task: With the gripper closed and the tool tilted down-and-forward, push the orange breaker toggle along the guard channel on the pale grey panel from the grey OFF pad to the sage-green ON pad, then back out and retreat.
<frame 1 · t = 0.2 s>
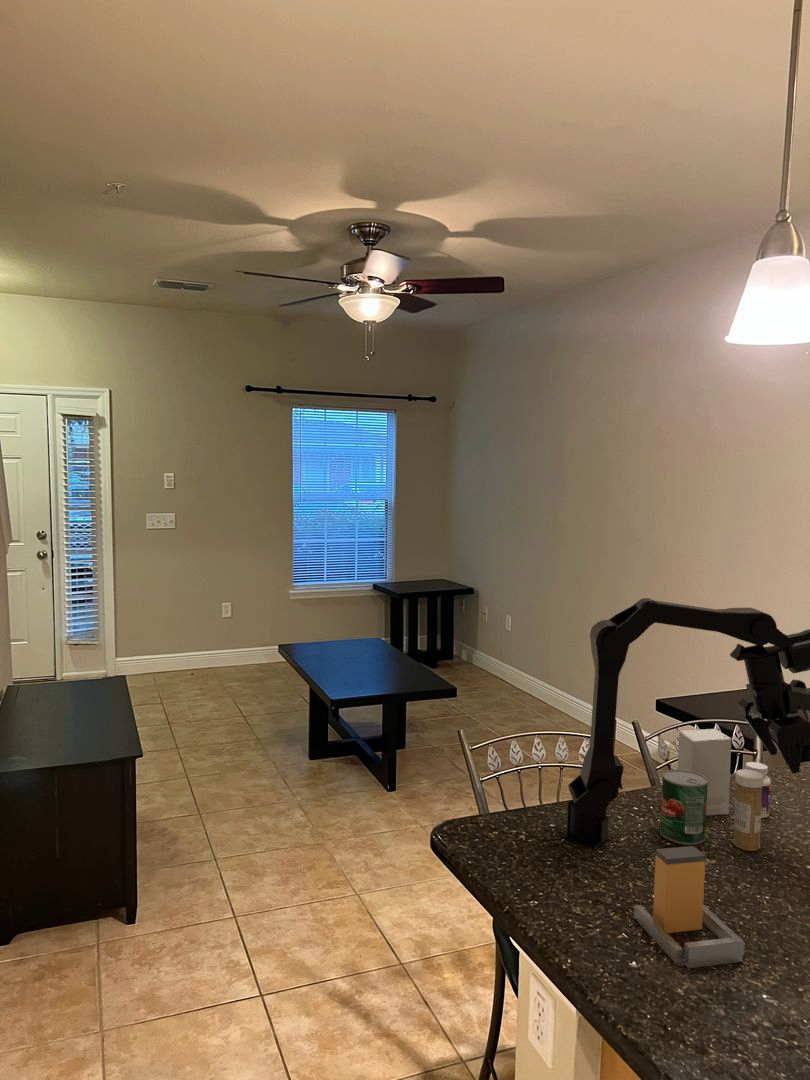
hand: (784, 763, 135), 15 cm above the countertop, tool pointing down, fingers open, 9 cm apart
pill bottle: (754, 814, 151), on the countertop
canned tomato: (682, 836, 141), on the countertop
skincare box: (702, 810, 153), on the countertop
toggle: (678, 889, 109), point 6 cm above the countertop, slide at 0.0 cm
sprinkles bottle: (746, 847, 137), on the countertop
panel: (680, 936, 109), on the countertop
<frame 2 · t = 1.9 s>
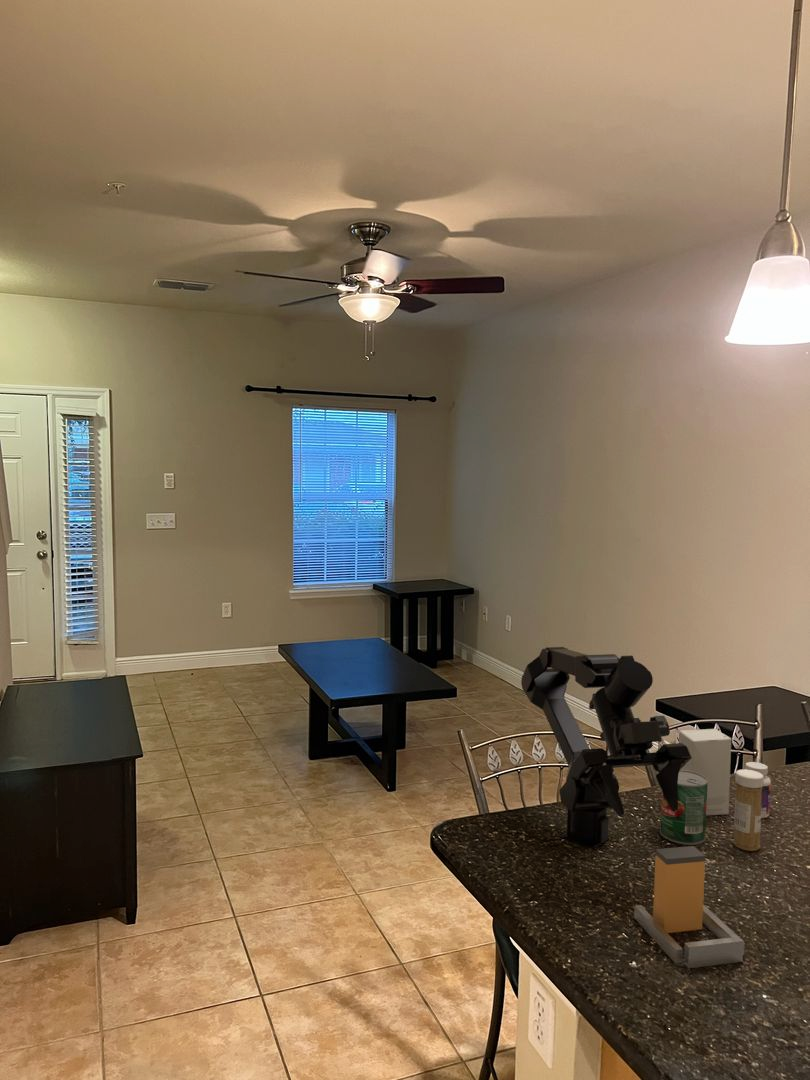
hand: (649, 813, 118), 13 cm above the countertop, tool tilted 45°, fingers open, 9 cm apart
nothing on the countertop moved.
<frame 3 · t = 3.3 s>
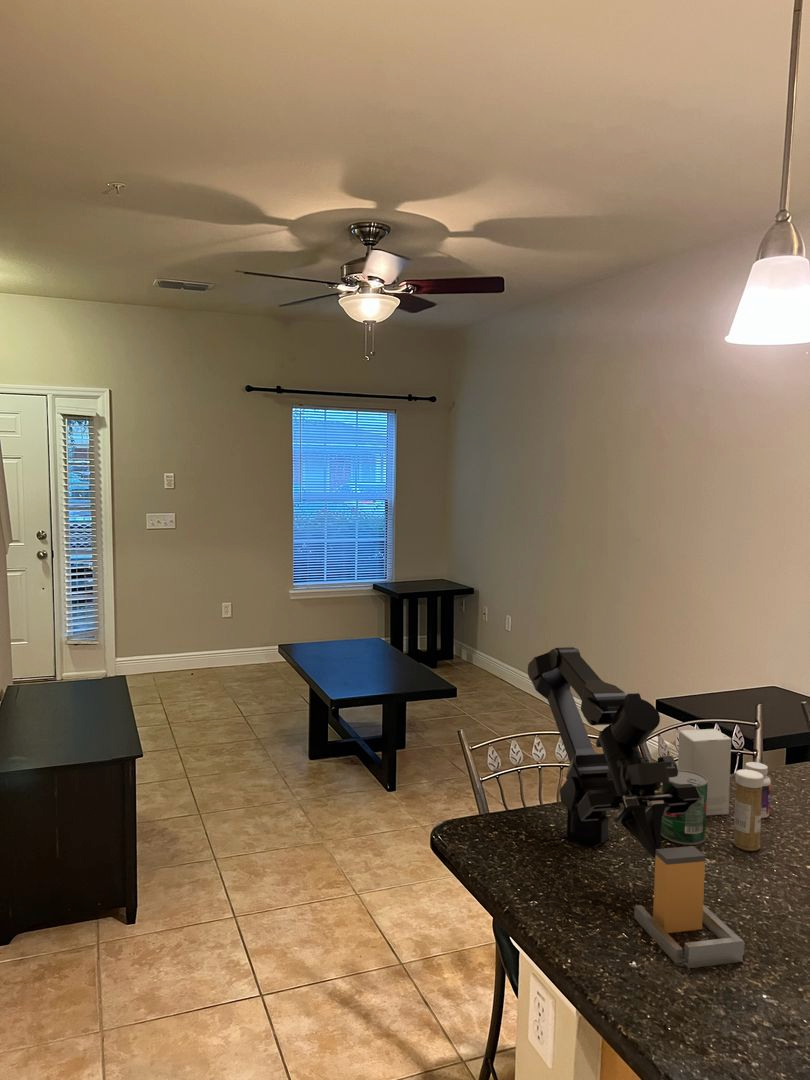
hand: (657, 857, 115), 8 cm above the countertop, tool tilted 45°, fingers closed
nothing on the countertop moved.
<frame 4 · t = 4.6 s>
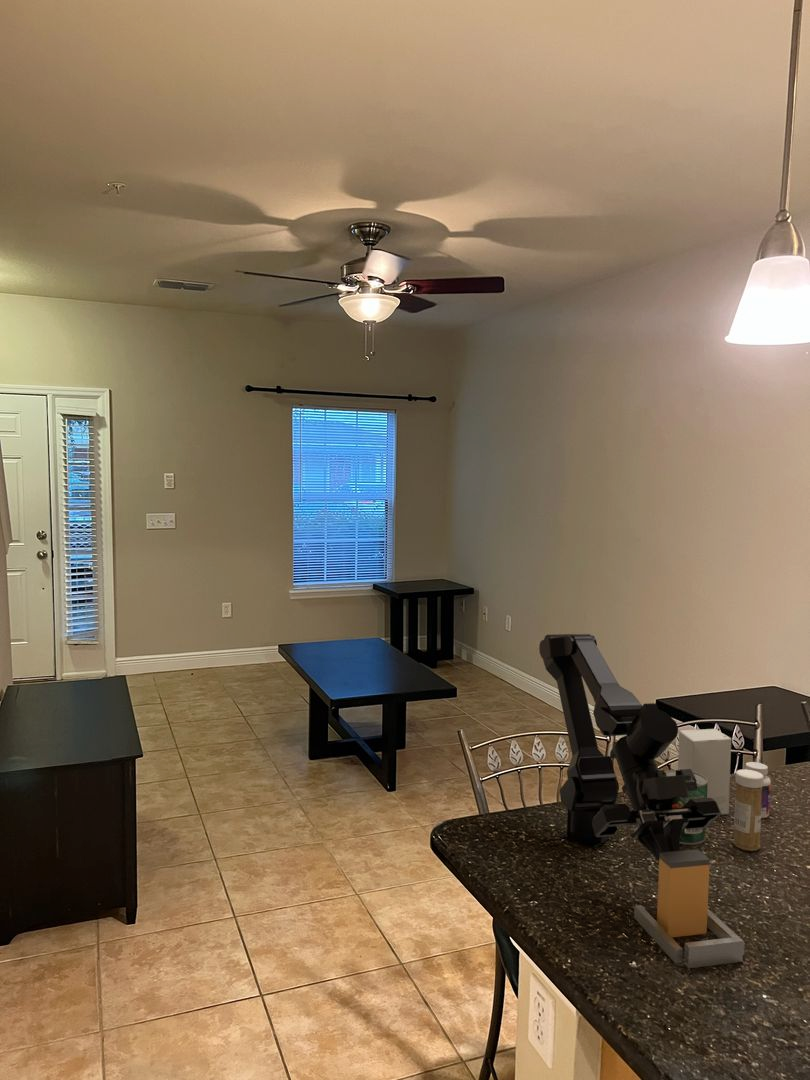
hand: (676, 875, 110), 8 cm above the countertop, tool tilted 45°, fingers closed, pressing on toggle
toggle: (682, 892, 108), point 6 cm above the countertop, slide at 1.1 cm, touching gripper
everything else where it was.
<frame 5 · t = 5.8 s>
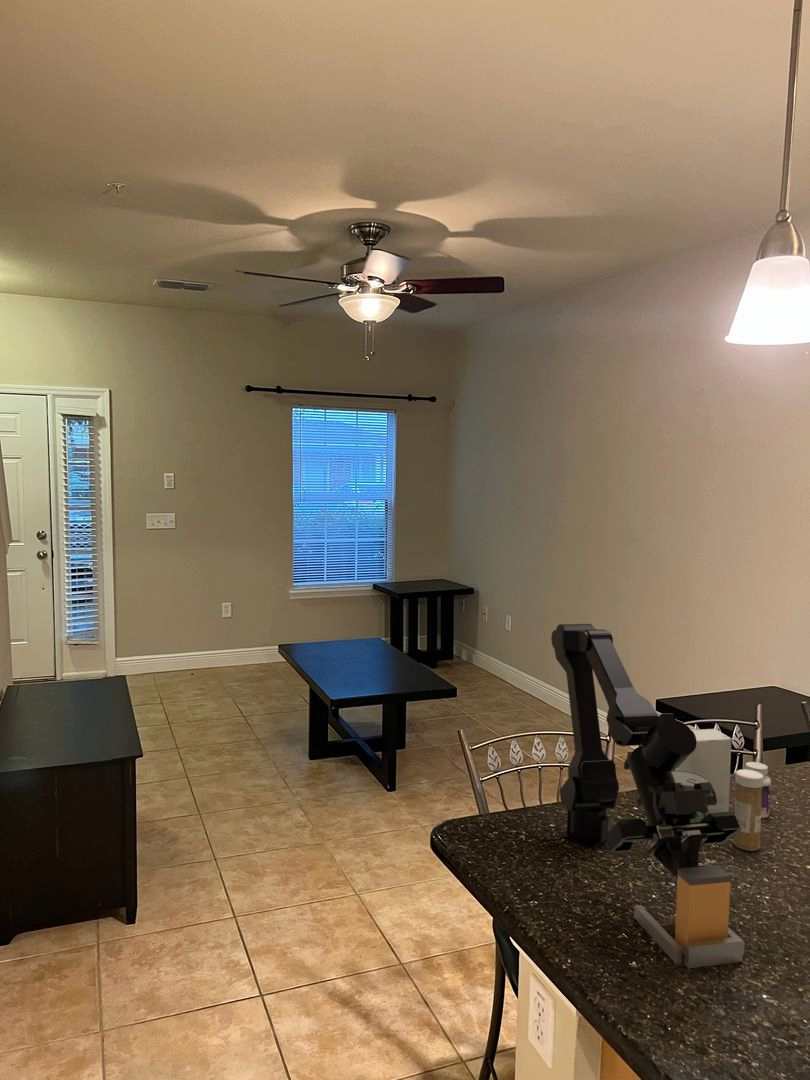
hand: (695, 893, 105), 8 cm above the countertop, tool tilted 45°, fingers closed
toggle: (702, 910, 104), point 6 cm above the countertop, slide at 5.8 cm
everything else where it was.
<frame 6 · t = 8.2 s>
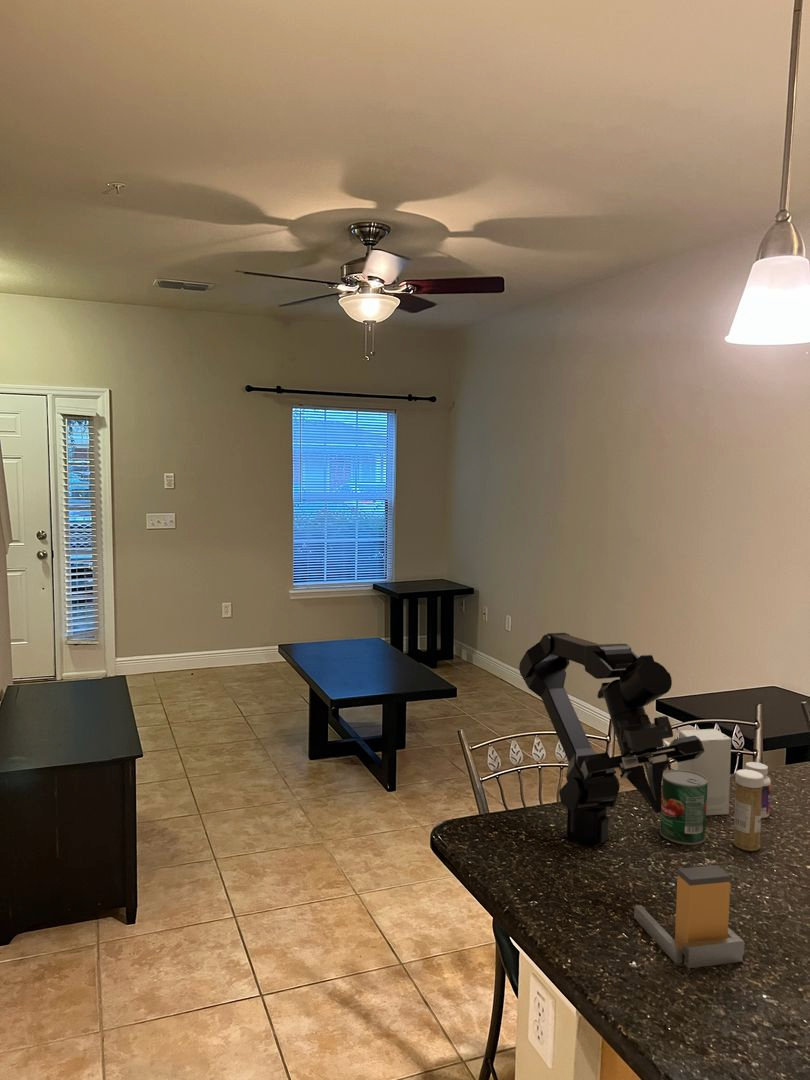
hand: (658, 812, 119), 13 cm above the countertop, tool tilted 35°, fingers closed
nothing on the countertop moved.
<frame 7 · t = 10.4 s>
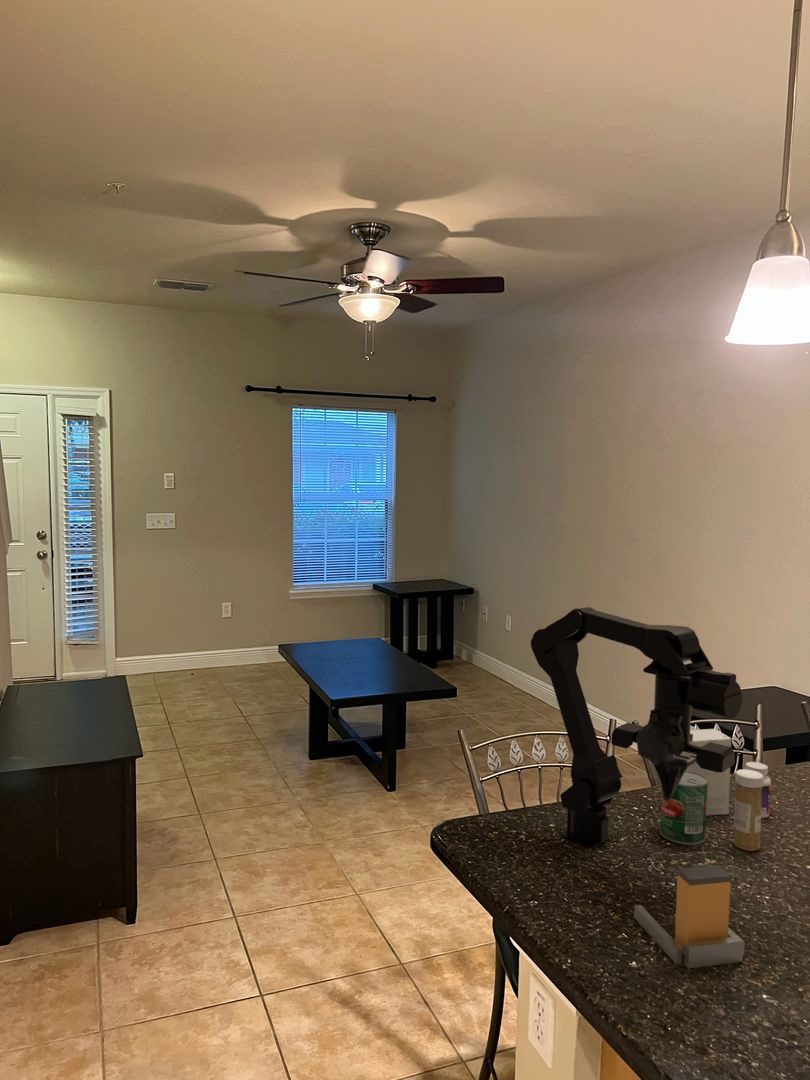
hand: (668, 797, 126), 13 cm above the countertop, tool pointing down, fingers closed
nothing on the countertop moved.
at the end: toggle slide at 5.8 cm; toggle 0.2 cm from the target spot, point 6.4 cm above the countertop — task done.
